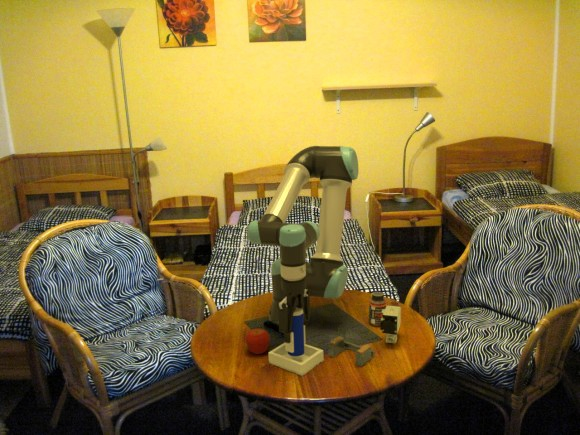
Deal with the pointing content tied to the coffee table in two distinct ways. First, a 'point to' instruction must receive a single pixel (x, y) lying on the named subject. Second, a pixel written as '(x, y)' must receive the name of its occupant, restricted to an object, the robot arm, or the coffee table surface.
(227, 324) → the coffee table surface
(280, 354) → the tray
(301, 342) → the beverage can
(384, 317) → the pneumatic valve
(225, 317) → the coffee table surface
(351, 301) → the coffee table surface
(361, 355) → the fuse holder
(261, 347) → the apple
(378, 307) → the supplement bottle
